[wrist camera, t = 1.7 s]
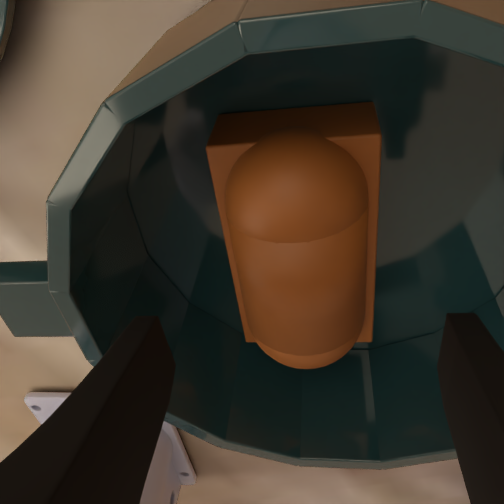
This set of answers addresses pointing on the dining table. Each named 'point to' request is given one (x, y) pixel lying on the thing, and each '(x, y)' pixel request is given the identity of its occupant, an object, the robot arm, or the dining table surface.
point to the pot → (212, 239)
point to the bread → (301, 225)
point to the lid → (5, 23)
